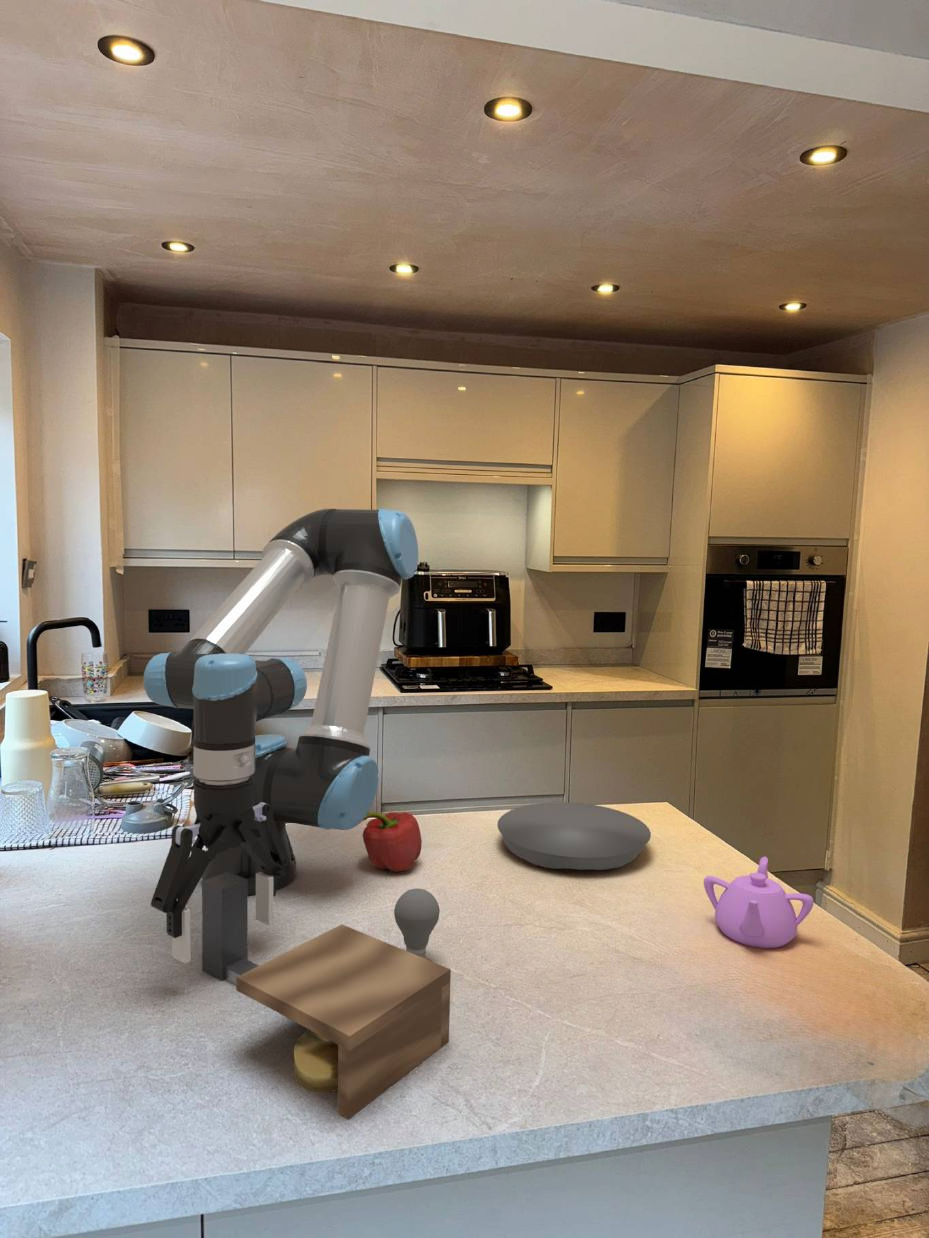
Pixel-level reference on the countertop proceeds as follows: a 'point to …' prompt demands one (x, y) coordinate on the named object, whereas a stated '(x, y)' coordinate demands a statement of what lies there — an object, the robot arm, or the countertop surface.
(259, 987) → the shelf
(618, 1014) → the countertop surface
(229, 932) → the l-shaped hook tool
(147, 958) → the countertop surface
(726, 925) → the teapot
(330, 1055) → the ball
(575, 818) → the flat disc
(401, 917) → the light bulb
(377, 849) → the vegetable
